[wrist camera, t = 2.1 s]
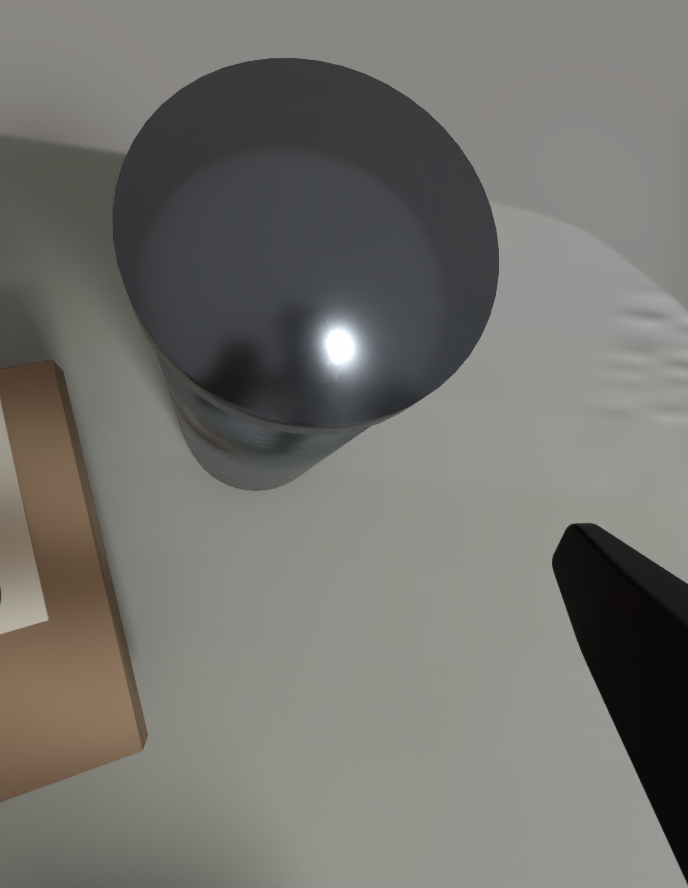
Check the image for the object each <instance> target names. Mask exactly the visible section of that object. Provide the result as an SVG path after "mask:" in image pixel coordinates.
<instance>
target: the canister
mask: <svg viewBox="0 0 688 888" xmlns="http://www.w3.org/2000/svg"><path fill="white" fill-rule="evenodd" d="M113 239H114V245H115V251H116V257H117V263H118V266H119V270H120V273H121V276H122V279H123V282H124V285H125V288H126V291H127V294H128V296H129V299H130V301H131V304H132V307H133V309H134V312H135V315H136V317H137V319H138V321H139V323H140V325H141V327H142V329H143V331H144V333H145V335H146V337H147V339H148V340H149V342H150V343H151V345H152V346H153V348H154V349H155V351H156V352H157V355H158V358H159V361H160V364H161V367H162V370H163V373H164V376H165V379H166V382H167V384H168V387H169V390H170V393H171V396H172V399H173V402H174V405H175V408H176V411H177V414H178V417H179V419H180V422H181V425H182V428H183V431H184V434H185V437H186V440H187V443H188V446H189V448H190V450H191V452H192V454H193V455H194V457H195V459H196V460H197V462H198V463H199V464H200V465H201V466H202V467H203V469H204V470H206V471H207V472H208V473H209V474H210V475H211V476H213V477H214V478H216V479H217V480H219V481H221V482H223V483H225V484H227V485H229V486H232V487H235V488H239V489H244V490H254V491H258V490H268V489H273V488H277V487H280V486H283V485H285V484H287V483H289V482H291V481H293V480H294V479H296V478H297V477H299V476H300V475H302V474H303V473H304V472H306V471H307V470H309V469H310V468H312V467H313V466H314V465H316V464H317V463H319V462H320V461H322V460H323V459H324V458H326V457H327V456H329V455H330V454H332V453H333V452H334V451H336V450H337V449H339V448H340V447H342V446H343V445H344V444H346V443H347V442H349V441H350V440H352V439H353V438H354V437H356V436H357V435H359V434H360V433H362V432H363V431H364V430H366V429H367V428H369V427H370V426H372V425H376V424H379V423H381V422H383V421H385V420H387V419H389V418H391V417H394V416H396V415H398V414H400V413H401V412H403V411H404V410H406V409H407V408H409V407H410V406H412V405H413V404H415V403H416V402H418V401H419V400H421V399H422V398H424V397H425V396H427V395H428V394H430V393H431V392H433V391H434V390H436V389H437V388H439V387H440V386H441V385H442V384H443V383H444V382H445V381H446V380H448V379H449V378H450V377H451V376H452V375H453V374H454V373H455V372H456V371H457V370H458V369H459V367H460V366H461V365H462V364H463V363H464V361H465V360H466V359H467V358H468V357H469V355H470V354H471V352H472V350H473V349H474V347H475V346H476V344H477V342H478V341H479V339H480V337H481V335H482V333H483V331H484V329H485V326H486V324H487V322H488V319H489V317H490V314H491V310H492V307H493V303H494V300H495V296H496V290H497V282H498V275H499V248H498V240H497V232H496V226H495V222H494V218H493V214H492V210H491V207H490V204H489V201H488V199H487V196H486V194H485V191H484V188H483V186H482V184H481V182H480V180H479V178H478V176H477V174H476V172H475V170H474V168H473V166H472V165H471V163H470V162H469V160H468V159H467V157H466V156H465V154H464V153H463V151H462V150H461V148H460V147H459V145H458V144H457V143H456V142H455V141H454V140H453V138H452V137H451V136H450V135H449V134H448V132H447V131H446V130H445V129H444V128H443V127H442V126H441V125H440V124H439V123H438V122H437V121H436V120H435V119H434V118H433V117H432V116H431V115H430V114H429V113H428V112H427V111H425V110H424V109H423V108H421V107H420V106H419V105H417V104H416V103H415V102H414V101H412V100H411V99H410V98H408V97H407V96H405V95H404V94H402V93H400V92H398V91H397V90H395V89H394V88H392V87H391V86H389V85H387V84H385V83H383V82H381V81H379V80H377V79H375V78H373V77H370V76H368V75H366V74H364V73H361V72H358V71H355V70H352V69H349V68H346V67H344V66H340V65H335V64H331V63H326V62H322V61H316V60H307V59H298V58H270V59H262V60H255V61H248V62H243V63H240V64H236V65H232V66H228V67H225V68H222V69H219V70H217V71H215V72H212V73H210V74H207V75H205V76H203V77H201V78H199V79H197V80H196V81H194V82H192V83H191V84H189V85H187V86H185V87H184V88H182V89H181V90H179V91H178V92H177V93H176V94H174V95H173V96H172V97H171V98H169V99H168V100H167V101H166V102H165V103H163V104H162V105H161V106H160V107H159V108H158V109H157V111H156V112H155V113H154V114H153V115H152V116H151V117H150V118H149V119H148V120H147V122H146V123H145V124H144V126H143V128H142V129H141V130H140V132H139V133H138V135H137V136H136V138H135V139H134V141H133V143H132V145H131V147H130V149H129V151H128V153H127V156H126V158H125V160H124V162H123V165H122V168H121V171H120V175H119V178H118V182H117V185H116V191H115V198H114V206H113Z"/></svg>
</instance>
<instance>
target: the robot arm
mask: <svg viewBox="0 0 688 888" xmlns="http://www.w3.org/2000/svg"><path fill="white" fill-rule="evenodd" d="M552 567H553V571H554V574H555V577H556V580H557V583H558V586H559V589H560V592H561V595H562V598H563V601H564V604H565V607H566V609H567V612H568V615H569V618H570V621H571V624H572V627H573V630H574V633H575V636H576V639H577V641H578V644H579V647H580V649H581V652H582V654H583V656H584V659H585V661H586V663H587V666H588V668H589V670H590V672H591V674H592V677H593V679H594V681H595V683H596V685H597V687H598V690H599V692H600V694H601V696H602V698H603V701H604V703H605V705H606V707H607V709H608V712H609V714H610V716H611V718H612V720H613V722H614V725H615V727H616V729H617V731H618V733H619V736H620V738H621V740H622V742H623V744H624V747H625V749H626V751H627V753H628V755H629V757H630V760H631V762H632V764H633V766H634V768H635V771H636V773H637V775H638V777H639V779H640V782H641V784H642V786H643V788H644V790H645V792H646V795H647V797H648V799H649V801H650V803H651V806H652V808H653V810H654V812H655V814H656V817H657V819H658V821H659V823H660V825H661V827H662V830H663V832H664V834H665V836H666V838H667V841H668V843H669V845H670V847H671V849H672V852H673V854H674V856H675V858H676V860H677V862H678V865H679V867H680V869H681V871H682V873H683V876H684V878H685V880H686V882H687V884H688V584H687V583H685V582H684V581H682V580H681V579H679V578H678V577H676V576H675V575H673V574H672V573H670V572H668V571H667V570H665V569H664V568H662V567H661V566H659V565H658V564H656V563H655V562H653V561H652V560H650V559H648V558H647V557H645V556H644V555H642V554H641V553H639V552H638V551H636V550H635V549H633V548H632V547H630V546H628V545H627V544H625V543H624V542H622V541H621V540H619V539H618V538H616V537H615V536H613V535H612V534H610V533H608V532H607V531H605V530H604V529H602V528H601V527H599V526H598V525H596V524H593V523H576V524H571V525H569V526H568V527H567V528H566V530H565V532H564V534H563V536H562V538H561V540H560V542H559V544H558V546H557V548H556V550H555V552H554V555H553V558H552ZM0 604H1V587H0Z"/></svg>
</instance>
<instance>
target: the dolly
mask: <svg viewBox="0 0 688 888" xmlns="http://www.w3.org/2000/svg"><path fill="white" fill-rule="evenodd" d="M0 587H1V604H0V802H2V801H5V800H8V799H10V798H13V797H16V796H19V795H22V794H24V793H27V792H30V791H33V790H35V789H38V788H41V787H44V786H46V785H49V784H52V783H55V782H57V781H60V780H63V779H66V778H68V777H71V776H74V775H77V774H79V773H82V772H85V771H88V770H91V769H93V768H96V767H99V766H102V765H104V764H107V763H110V762H113V761H115V760H118V759H121V758H124V757H126V756H129V755H132V754H135V753H137V752H140V751H143V748H144V745H145V742H146V740H147V737H148V733H147V729H146V724H145V720H144V716H143V711H142V707H141V703H140V699H139V694H138V690H137V686H136V681H135V677H134V673H133V669H132V664H131V660H130V656H129V651H128V647H127V643H126V639H125V634H124V630H123V626H122V621H121V617H120V613H119V609H118V604H117V600H116V596H115V591H114V587H113V583H112V579H111V574H110V570H109V566H108V561H107V557H106V553H105V549H104V544H103V540H102V536H101V531H100V527H99V523H98V519H97V514H96V510H95V506H94V501H93V497H92V493H91V489H90V484H89V480H88V476H87V471H86V467H85V463H84V458H83V454H82V450H81V446H80V441H79V437H78V433H77V428H76V424H75V420H74V416H73V411H72V407H71V403H70V398H69V394H68V390H67V386H66V381H65V377H64V373H63V371H62V370H61V368H60V367H59V366H58V365H57V364H56V363H55V362H54V361H53V360H47V361H41V362H36V363H31V364H25V365H20V366H15V367H10V368H4V369H0Z"/></svg>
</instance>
